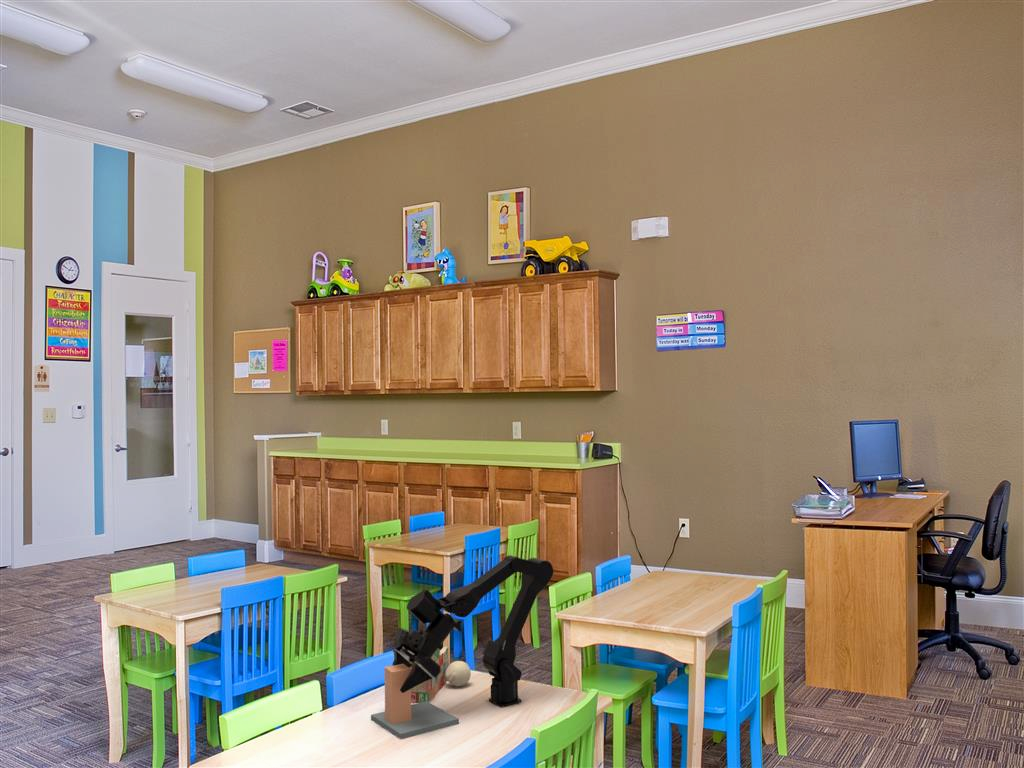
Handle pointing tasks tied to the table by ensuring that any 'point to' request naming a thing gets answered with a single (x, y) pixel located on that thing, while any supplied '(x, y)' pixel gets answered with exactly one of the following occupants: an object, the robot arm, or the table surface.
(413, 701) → the stack of blocks
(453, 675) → the baseball
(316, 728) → the table surface
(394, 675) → the tall peach square pillar
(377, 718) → the slate board
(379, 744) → the table surface
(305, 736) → the table surface
